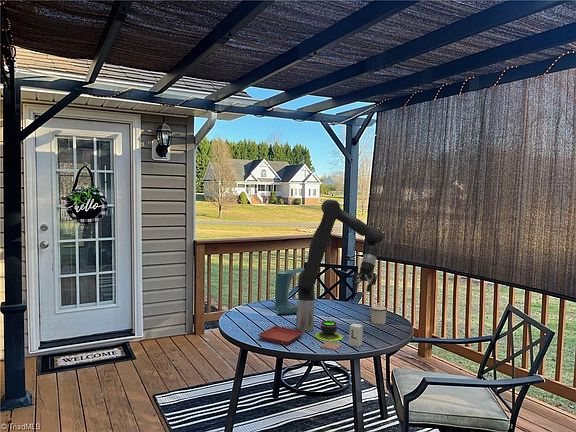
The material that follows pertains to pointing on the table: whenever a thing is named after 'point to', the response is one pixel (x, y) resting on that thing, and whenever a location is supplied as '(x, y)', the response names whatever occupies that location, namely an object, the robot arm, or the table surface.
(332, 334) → the toy cauldron
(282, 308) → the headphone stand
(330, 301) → the table surface
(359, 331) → the plain off-white block
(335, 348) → the coaster
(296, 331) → the plant saucer
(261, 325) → the table surface
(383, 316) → the teacup with lid
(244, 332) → the table surface
